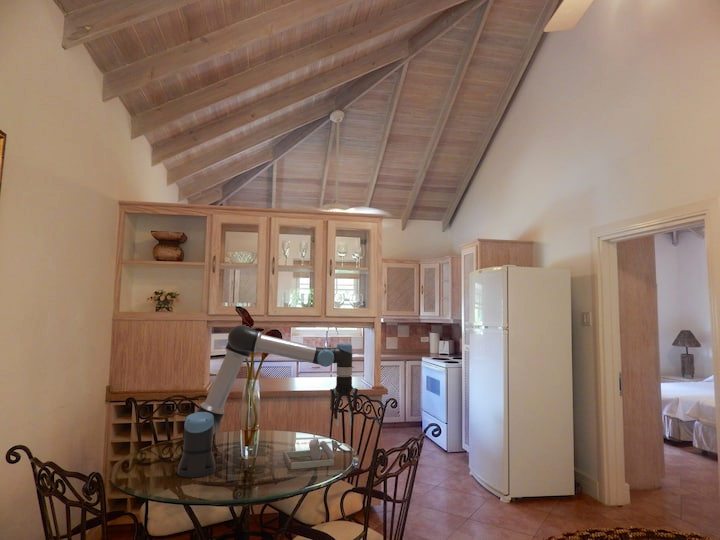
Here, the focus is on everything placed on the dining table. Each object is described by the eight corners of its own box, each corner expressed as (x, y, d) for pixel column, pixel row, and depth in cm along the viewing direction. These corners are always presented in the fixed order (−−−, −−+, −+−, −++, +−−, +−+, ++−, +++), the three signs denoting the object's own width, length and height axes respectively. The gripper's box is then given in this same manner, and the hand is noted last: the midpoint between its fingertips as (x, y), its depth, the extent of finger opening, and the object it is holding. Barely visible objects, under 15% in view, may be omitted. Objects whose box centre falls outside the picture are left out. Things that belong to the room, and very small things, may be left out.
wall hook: (335, 461, 200) (330, 438, 201) (313, 466, 200) (308, 444, 201) (336, 455, 208) (332, 434, 209) (315, 460, 208) (310, 439, 209)
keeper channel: (289, 469, 189) (289, 462, 190) (283, 457, 206) (283, 450, 206) (333, 465, 195) (334, 458, 196) (324, 454, 212) (324, 447, 212)
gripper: (327, 377, 205) (326, 428, 202) (364, 376, 211) (364, 426, 208) (324, 375, 212) (322, 424, 209) (359, 374, 218) (359, 422, 215)
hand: (343, 425), depth 209 cm, fingers open, 5 cm apart
